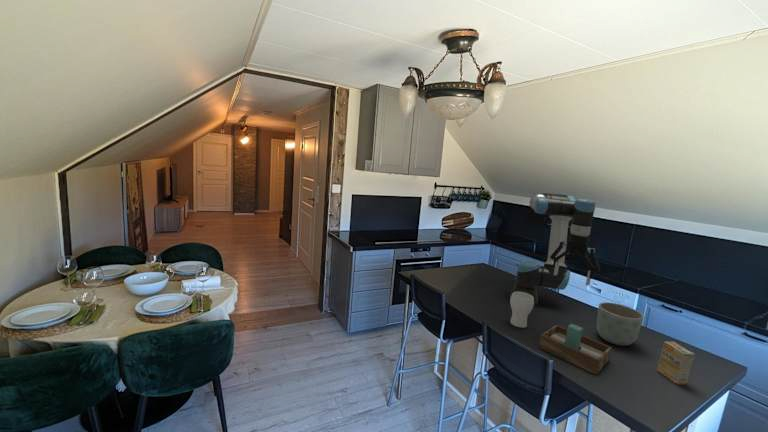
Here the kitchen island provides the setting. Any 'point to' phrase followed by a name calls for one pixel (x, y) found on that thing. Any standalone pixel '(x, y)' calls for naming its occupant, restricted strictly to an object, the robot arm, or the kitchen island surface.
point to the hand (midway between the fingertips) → (570, 279)
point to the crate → (588, 355)
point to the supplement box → (675, 362)
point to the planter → (618, 323)
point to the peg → (573, 336)
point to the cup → (521, 308)
